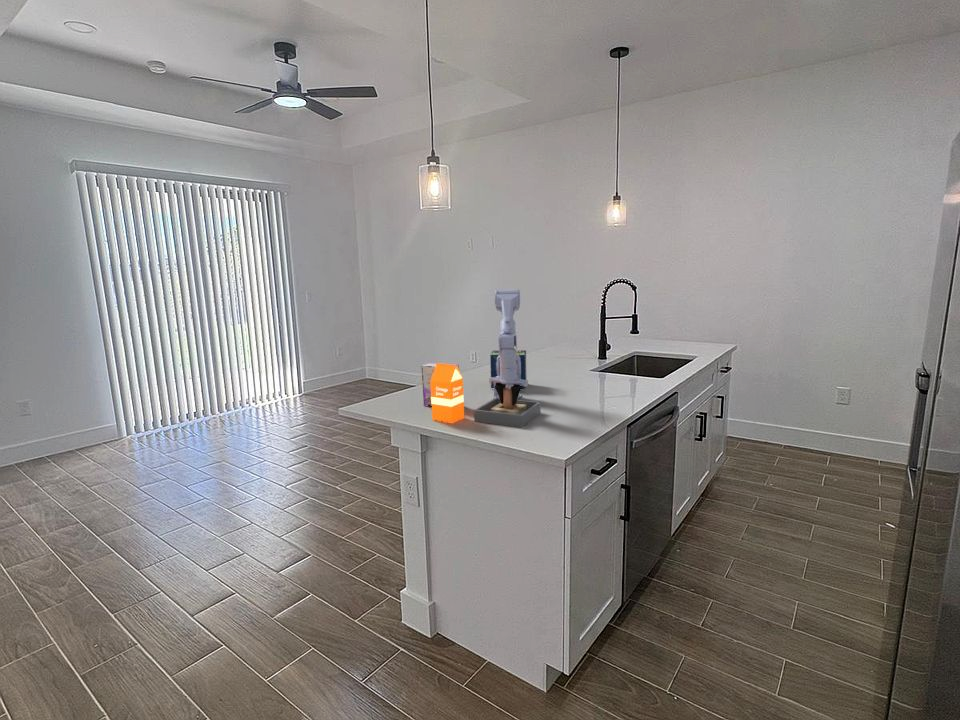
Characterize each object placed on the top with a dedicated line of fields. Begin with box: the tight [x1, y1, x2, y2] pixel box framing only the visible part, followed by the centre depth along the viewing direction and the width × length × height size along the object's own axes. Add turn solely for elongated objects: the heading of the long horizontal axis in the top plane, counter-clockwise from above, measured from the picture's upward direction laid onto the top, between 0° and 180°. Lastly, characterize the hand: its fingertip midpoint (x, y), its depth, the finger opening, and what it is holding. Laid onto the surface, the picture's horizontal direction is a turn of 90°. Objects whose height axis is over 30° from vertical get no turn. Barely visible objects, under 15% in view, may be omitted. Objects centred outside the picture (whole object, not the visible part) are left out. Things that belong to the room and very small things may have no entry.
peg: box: [503, 388, 514, 410], centre depth 186 cm, size 4×4×8 cm
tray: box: [473, 398, 541, 428], centre depth 184 cm, size 18×18×4 cm
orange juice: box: [430, 362, 465, 424], centre depth 182 cm, size 8×9×20 cm
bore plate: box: [490, 403, 527, 415], centre depth 187 cm, size 10×10×2 cm
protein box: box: [489, 349, 528, 390], centre depth 228 cm, size 10×15×16 cm
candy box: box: [421, 362, 460, 407], centre depth 200 cm, size 14×6×16 cm, turn 65°
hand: (508, 403), depth 187 cm, fingers closed on peg, 4 cm apart
